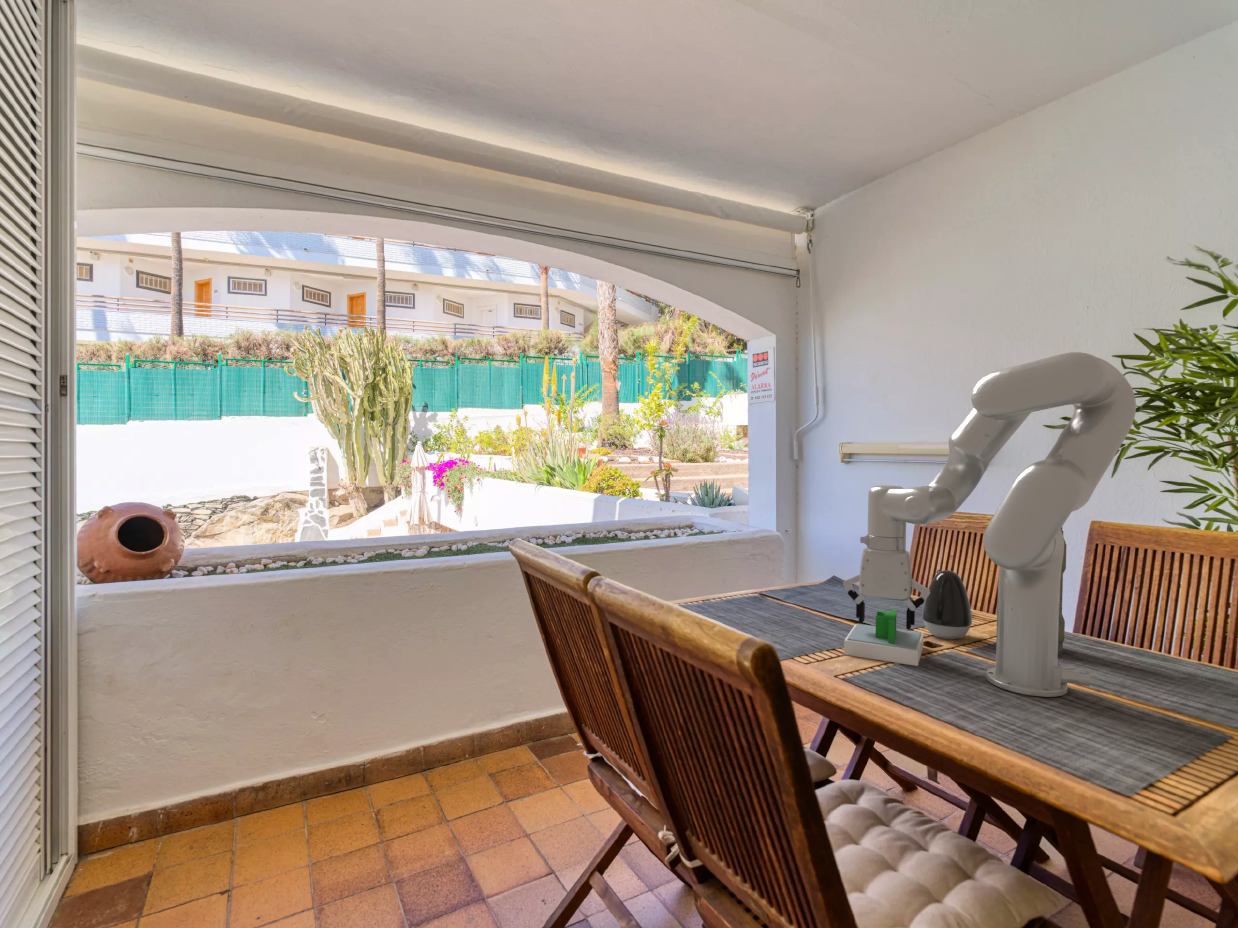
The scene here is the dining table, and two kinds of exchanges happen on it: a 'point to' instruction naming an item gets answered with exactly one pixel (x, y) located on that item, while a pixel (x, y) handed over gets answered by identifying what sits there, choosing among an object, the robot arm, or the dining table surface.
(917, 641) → the stand
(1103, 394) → the robot arm
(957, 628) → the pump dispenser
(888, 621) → the pipe clamp
